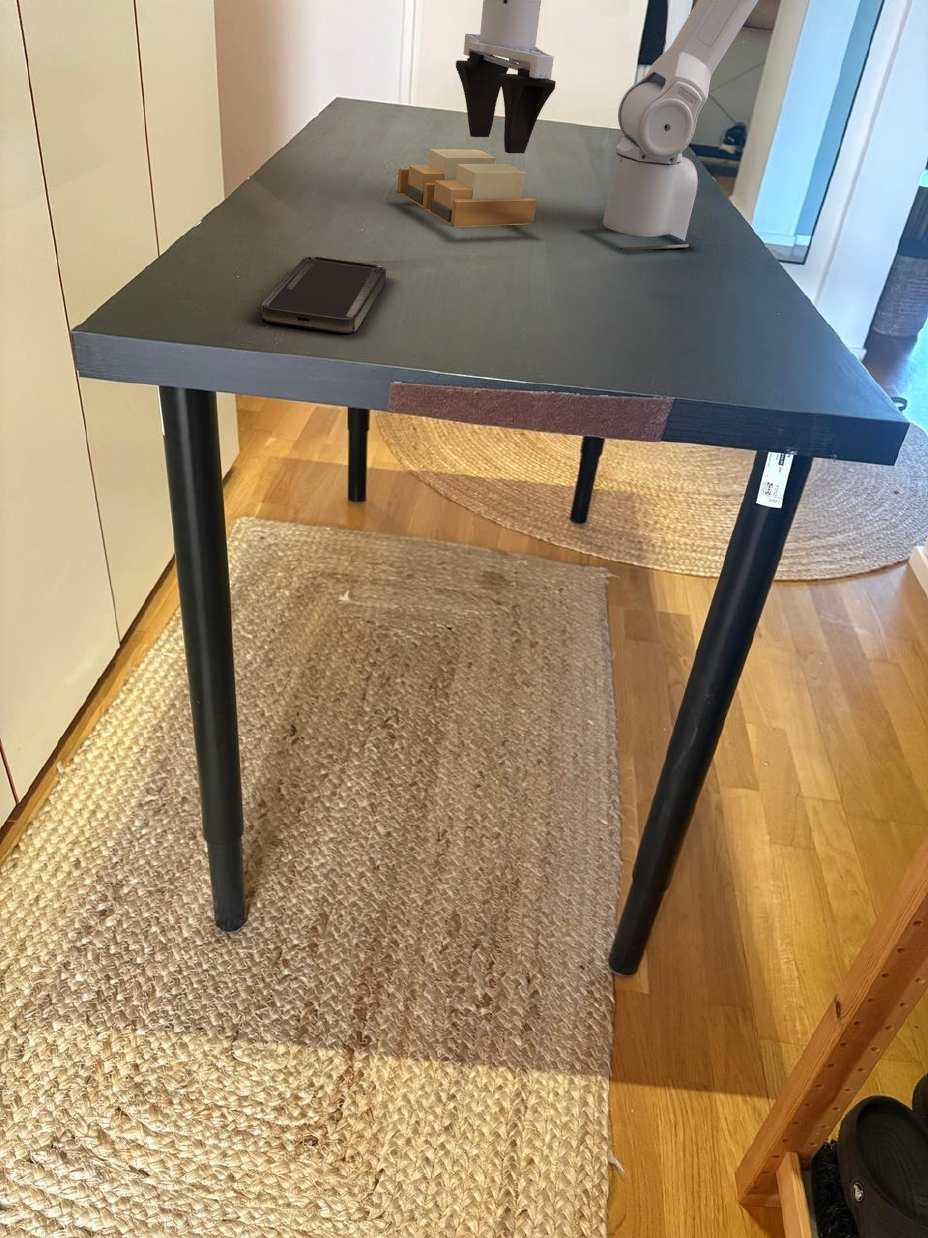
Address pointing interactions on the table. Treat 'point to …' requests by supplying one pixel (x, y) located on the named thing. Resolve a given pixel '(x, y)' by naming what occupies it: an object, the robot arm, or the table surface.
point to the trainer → (477, 186)
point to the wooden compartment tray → (477, 207)
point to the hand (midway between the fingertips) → (496, 144)
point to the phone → (325, 295)
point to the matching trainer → (441, 169)
